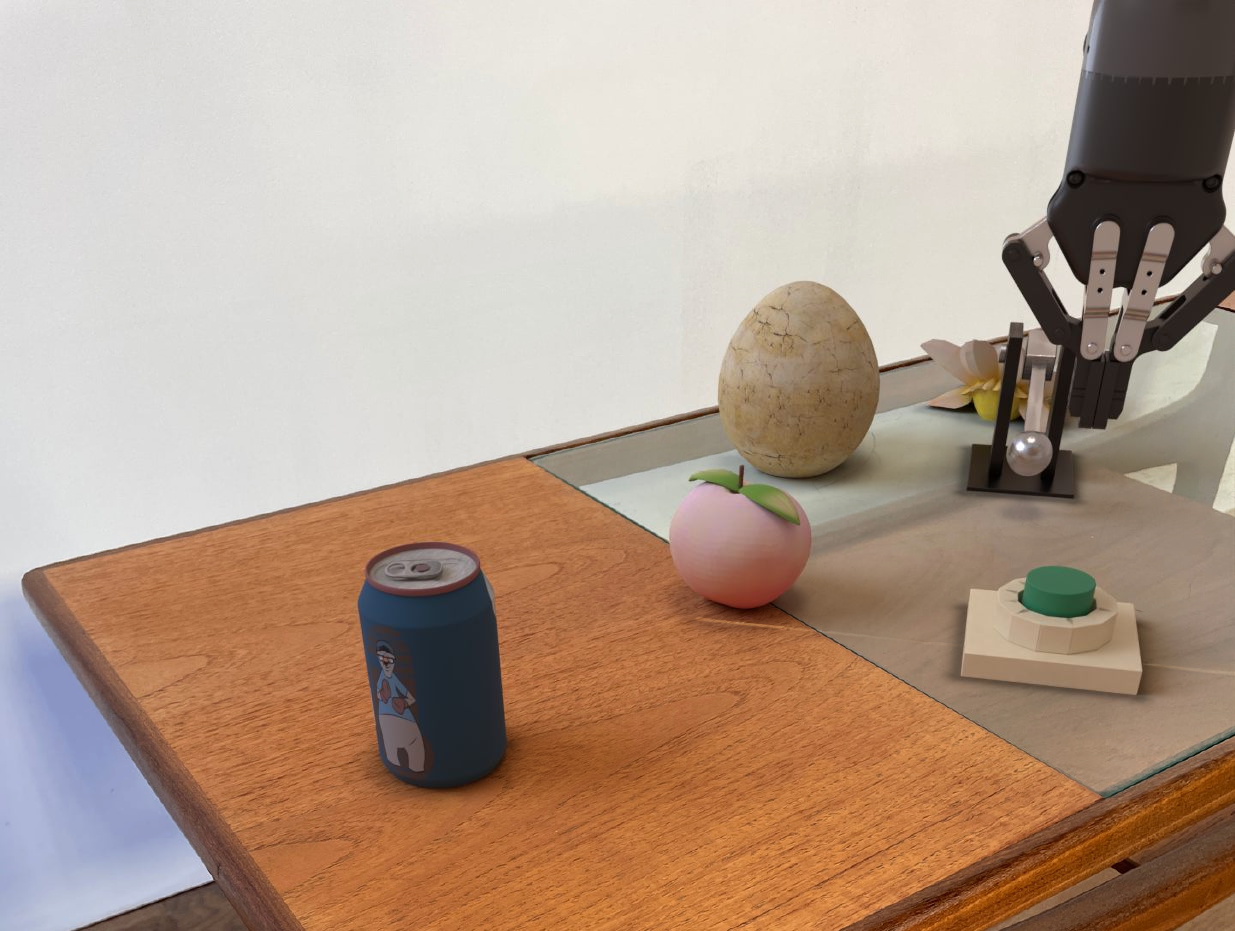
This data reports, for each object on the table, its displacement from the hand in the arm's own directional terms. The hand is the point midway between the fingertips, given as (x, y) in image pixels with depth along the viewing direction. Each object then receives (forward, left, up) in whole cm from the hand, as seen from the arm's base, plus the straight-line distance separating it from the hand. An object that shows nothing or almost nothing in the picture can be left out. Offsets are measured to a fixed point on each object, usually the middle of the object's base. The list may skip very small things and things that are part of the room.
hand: (1091, 424), depth 71 cm
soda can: (+32, +20, -15) cm, 40 cm away
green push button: (0, 0, -11) cm, 11 cm away
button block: (0, 0, -15) cm, 15 cm away
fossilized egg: (+20, -28, -15) cm, 38 cm away
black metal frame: (+2, -30, -15) cm, 34 cm away
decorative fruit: (+20, -2, -15) cm, 25 cm away
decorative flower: (+3, -45, -15) cm, 48 cm away
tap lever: (+2, -26, -8) cm, 28 cm away
